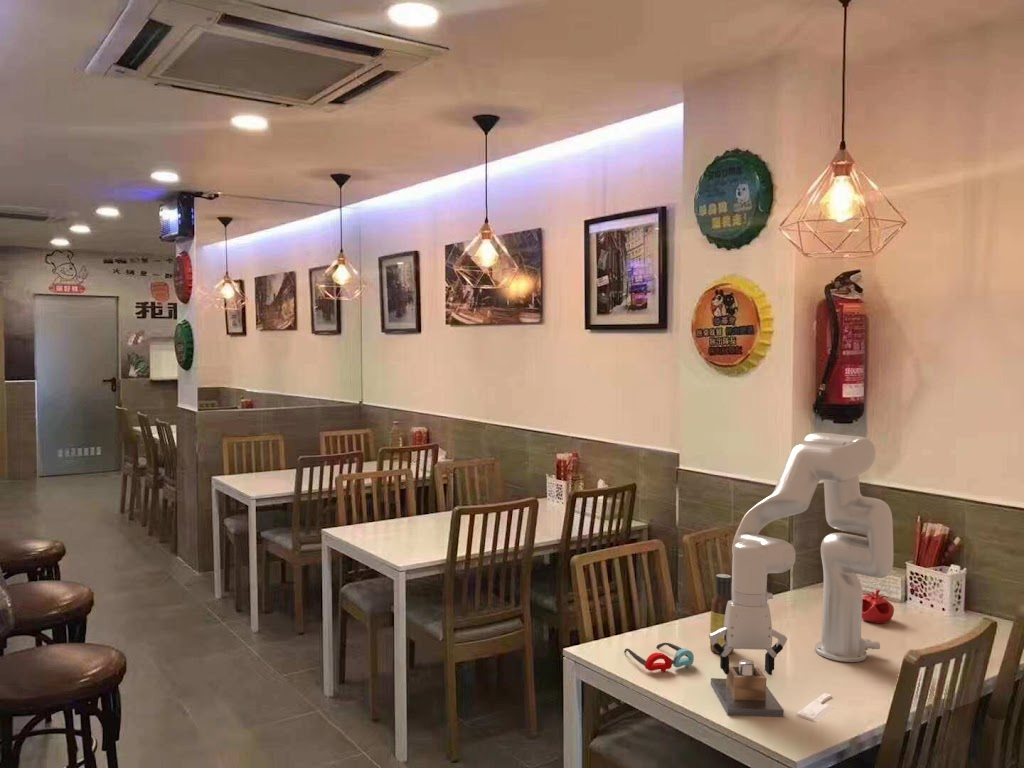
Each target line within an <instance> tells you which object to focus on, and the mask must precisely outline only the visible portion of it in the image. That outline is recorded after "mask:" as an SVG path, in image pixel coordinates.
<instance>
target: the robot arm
mask: <svg viewBox="0 0 1024 768" xmlns="http://www.w3.org/2000/svg"><path fill="white" fill-rule="evenodd" d="M875 459H876V447H875V445H874V443H873V441H871V440H870V439H869V438H867V437H865V436H859V435H850V434H849V435H848V434H838V433H830V432H829V433H827V432H812V433H809V434H807V435H806V436H805V437H804V439H803V442H802V443H800V444H796V445H795V446H793V448H792V449H791V450H790V453H789V454H788V457H787V459H786V462H785V463H784V466H783V469H782V471H781V473H780V476H779V478H778V480H777V483H776V485H775V488H774V490H773V492H772V493H771V494H770V495H769V496H767V497H764V499H762V500H760V501H759V502H757V503H756V504H755V505H754V506H753V507H751V508H750V509H749V510H748V511H747V512H746V513H745V514H744V516H742V519H741V521H740V523H739V525H738V527H737V529H736V531H735V534H734V537H733V540H732V545H731V553H732V566H731V569H732V570H731V577H732V582H731V594H732V600H730V601H728V603H727V607H726V612H725V619H724V628H722V629H720V630H717V631H715V632H713V633H711V634H710V633H709V634H708V639H709V641H710V640H711V642H712V644H713V646H714V648H715V649H716V650H717V651H718V652H719V653H720V654H719V653H718V654H719V655H720V660H719V661H720V662H719V663H720V664H719V665H720V666H719V667H720V669H721V670H722V671H723V673H724V674H725V675H727V674H729V665H730V657H729V655H730V654H731V653H730V651H731V650H732V649H734V650H756V651H757V650H766V653H765V656H764V671H765V672H766V674H768V675H769V676H773V671H774V670H775V659H776V658H777V655H778V654H779V653H780V652H781V651H782V650H783V649H784V646H785V645H786V644H787V641H788V637H787V636H786V635H784V634H783V633H781V632H779V631H777V630H775V629H773V627H772V626H773V624H772V615H771V609H770V605H769V603H768V601H769V600H773V599H774V594H773V592H769V591H767V590H768V589H767V588H768V587H767V586H768V583H767V582H768V574H780V573H781V574H782V573H785V572H787V571H789V570H790V569H791V568H792V567H793V566H794V565H795V563H796V560H797V558H796V557H797V556H796V555H797V553H796V548H795V547H794V546H793V545H792V544H791V543H790V542H788V541H786V540H783V539H781V538H776V537H771V536H766V535H762V534H760V532H761V530H762V529H763V528H764V527H765V526H767V525H768V524H770V523H772V522H774V521H777V520H781V519H784V518H787V517H790V516H794V515H798V514H801V513H804V512H806V511H808V509H809V507H810V505H811V502H812V498H813V497H814V495H815V491H816V489H817V487H818V484H819V482H820V481H823V489H824V511H825V520H826V522H827V524H828V526H830V527H831V528H833V529H835V530H839V531H842V532H832V533H831V532H830V533H829V534H827V535H826V536H825V537H824V538H823V539H822V541H821V544H820V557H821V564H822V571H823V572H822V573H823V590H822V593H823V595H822V617H821V618H822V619H821V641H818V642H817V643H815V645H814V651H815V652H816V653H817V654H818V655H820V656H822V657H824V658H826V659H829V660H833V661H837V662H843V661H844V663H857V662H858V663H859V662H863V661H865V660H866V659H867V657H868V653H867V651H868V650H869V649H870V650H880V648H881V645H880V644H881V643H880V642H879V641H871V639H870V638H862V624H863V623H862V622H863V621H862V620H863V619H862V597H863V596H864V593H863V591H864V589H863V585H862V583H861V581H860V579H859V577H858V575H861V576H865V577H869V578H874V579H875V578H876V579H883V578H887V577H888V576H890V574H891V573H892V570H893V566H894V557H895V556H894V530H893V529H894V525H893V513H892V510H891V507H890V506H889V505H888V503H886V501H885V500H882V499H879V498H875V497H871V496H870V497H869V496H865V495H864V496H863V495H862V493H861V490H860V489H861V488H860V487H861V486H860V477H859V475H862V474H863V473H865V472H867V471H868V470H869V469H870V468H871V467H872V466H873V464H874V463H875ZM844 532H848V533H844ZM849 533H852V534H849ZM854 534H855V535H854ZM856 534H859V535H856ZM860 535H864V536H866V537H864V536H860ZM722 636H723V639H724V641H725V642H724V644H723V645H722V646H720V644H719V643H718V642H717V639H718V638H720V637H722ZM773 638H775V639H777V642H776V643H775V644H774V645H773ZM729 653H730V654H729Z"/></svg>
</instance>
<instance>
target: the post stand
mask: <svg viewBox="0 0 1024 768" xmlns="http://www.w3.org/2000/svg"><path fill="white" fill-rule="evenodd" d="M738 665H739V676H754V666H755V663H754V661H751V660H749V659H748V660H747V659H741V660H739V663H738ZM726 680H727V678H713V677H712V678H711V677H710V686H711V688H712V690H713V691H714V693H715V695H716V697H717V699H718V700H719V702H720V704H721V706H722V708H723V709H724V711H725V713H726V716H741V715H742V716H743V715H744V716H746V717H748V716H749V717H751V716H752V717H781V718H782V717H784V714H785V713H784V712H785V711H784V708H783V707H782V706H781V704H780V702H779V701H778V700H777V698H776V697H775V696H774V695H773V693H772V691H771V690H770V689H769V687H768V686H767V685H766V700H734V699H733V697H732V695H731V694H730V692H729V690H728V688H727V687H726ZM742 716H741V717H742Z"/></svg>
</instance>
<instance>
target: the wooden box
mask: <svg viewBox="0 0 1024 768" xmlns="http://www.w3.org/2000/svg"><path fill="white" fill-rule="evenodd" d="M726 679H727V680H726V687H727V688H728V690H729V692H730V694H731V695H732V697H733V699H734V700H766V686H767V676H766V675H765V674H764V672H763V671H762V670H761V668H760V667H759V666H758V665H754V676H739V664H738V665H735V664H732V665H731V664H729V674H726Z"/></svg>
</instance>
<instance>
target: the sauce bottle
mask: <svg viewBox="0 0 1024 768" xmlns="http://www.w3.org/2000/svg"><path fill="white" fill-rule="evenodd" d="M715 582H716V588H715V593H714V595H713V596H712V598H711V605H710V607H711V609H710V626H709V627H710V628H709V629H710V630H709V631H710V633H709V634H711V633H713V632H715V631H717V630H720V629H722V628H724V619H725V612H726V607H727V603H728V601H730V600H732V575H729V574H727V573H726V574H725V573H718V574H716V575H715ZM717 642H718V643H719V644H720V646H722V645H723V644H724V642H725V641H724V639H723V636H722V637H720V638H718V639H717ZM709 644H710V646H709V647H710V651H712V652H713V653H716V654H719V655H721V654H720V653H719V652H718V651H717V650H716V649H715V648H714V646H713V644H712V642H711V640H710V639H709ZM734 650H735V649H732V650H731V651H730V653H729V654H728V655H730V654H733V652H734Z"/></svg>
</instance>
